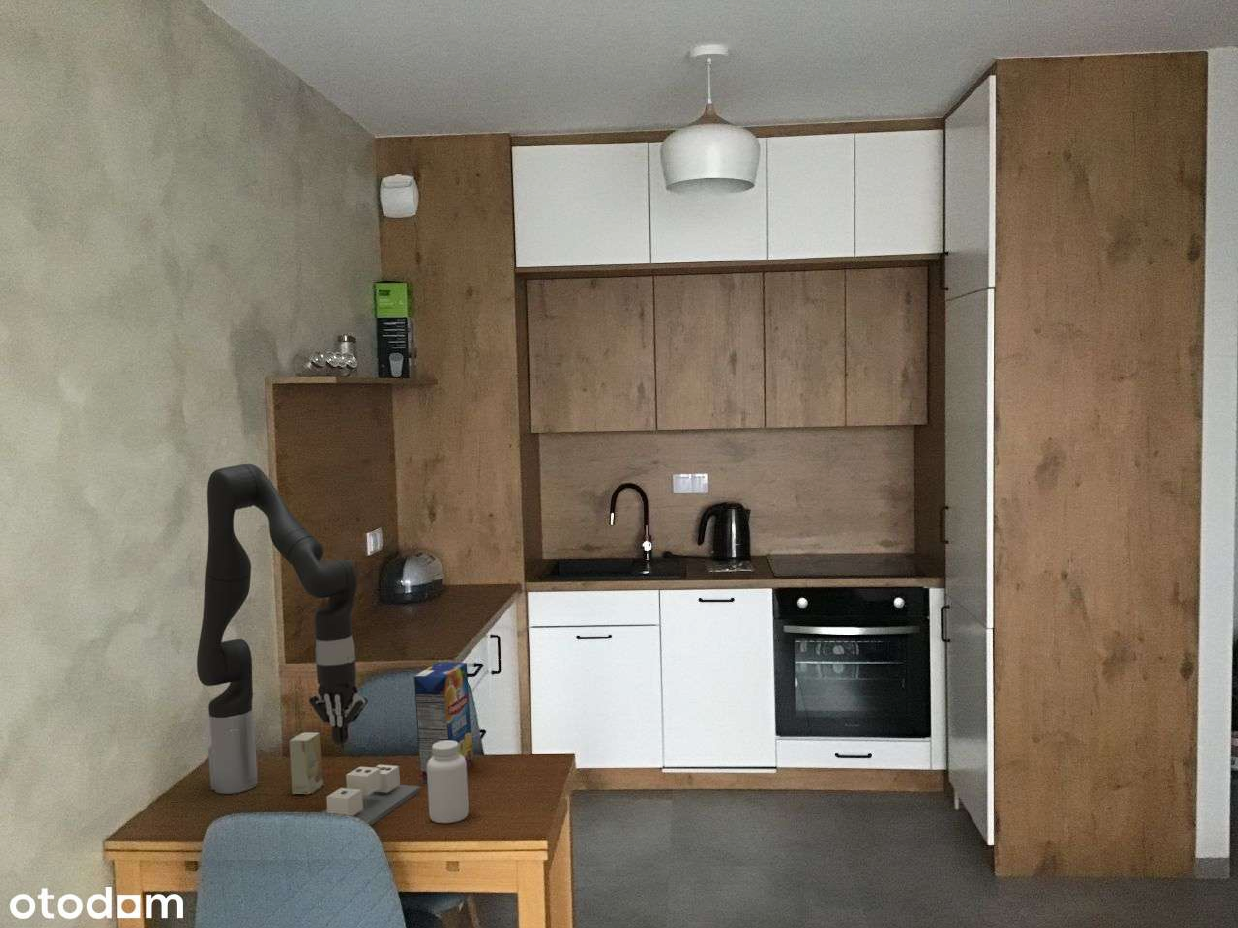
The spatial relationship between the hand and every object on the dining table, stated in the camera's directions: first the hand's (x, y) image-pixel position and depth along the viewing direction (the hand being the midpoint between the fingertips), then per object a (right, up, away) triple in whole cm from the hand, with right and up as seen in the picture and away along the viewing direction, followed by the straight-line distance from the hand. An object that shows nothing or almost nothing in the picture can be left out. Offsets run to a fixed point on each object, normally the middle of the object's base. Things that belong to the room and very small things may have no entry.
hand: (341, 742), depth 209 cm
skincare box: (-13, -16, +20) cm, 28 cm away
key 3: (+6, -13, +14) cm, 20 cm away
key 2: (+3, -12, +7) cm, 14 cm away
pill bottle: (+22, -15, 0) cm, 27 cm away
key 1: (+1, -14, +1) cm, 14 cm away
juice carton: (+17, -14, +26) cm, 34 cm away
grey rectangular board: (+3, -16, +7) cm, 18 cm away
